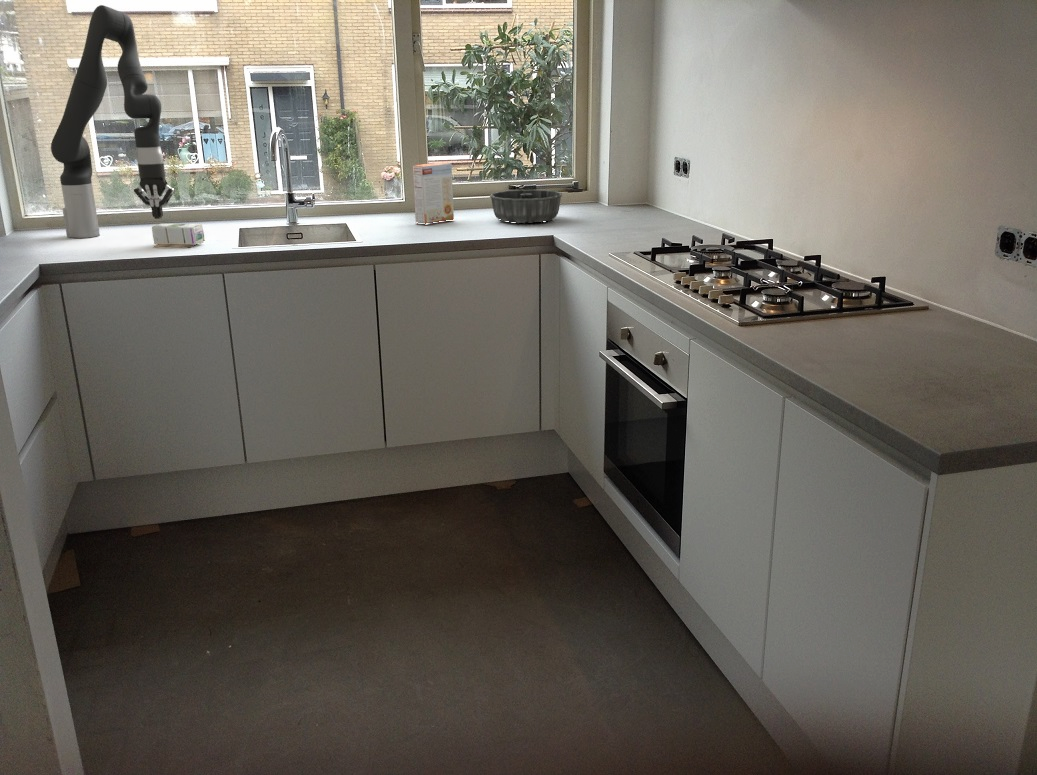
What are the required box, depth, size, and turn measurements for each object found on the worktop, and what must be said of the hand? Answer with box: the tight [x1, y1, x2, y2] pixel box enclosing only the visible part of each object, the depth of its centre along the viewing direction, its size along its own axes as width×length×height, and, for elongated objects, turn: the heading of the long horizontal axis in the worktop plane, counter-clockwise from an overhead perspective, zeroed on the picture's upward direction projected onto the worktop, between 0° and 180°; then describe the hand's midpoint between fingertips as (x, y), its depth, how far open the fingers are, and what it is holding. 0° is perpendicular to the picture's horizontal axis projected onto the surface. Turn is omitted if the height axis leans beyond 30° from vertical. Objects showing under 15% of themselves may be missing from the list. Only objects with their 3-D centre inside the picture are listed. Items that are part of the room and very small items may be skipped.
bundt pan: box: [489, 189, 563, 224], centre depth 329 cm, size 26×26×10 cm
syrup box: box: [151, 223, 205, 246], centre depth 285 cm, size 6×6×14 cm
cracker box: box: [412, 162, 455, 224], centre depth 324 cm, size 14×6×21 cm, turn 136°
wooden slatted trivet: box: [153, 239, 206, 248], centre depth 287 cm, size 12×12×1 cm
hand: (158, 218), depth 285 cm, fingers closed
